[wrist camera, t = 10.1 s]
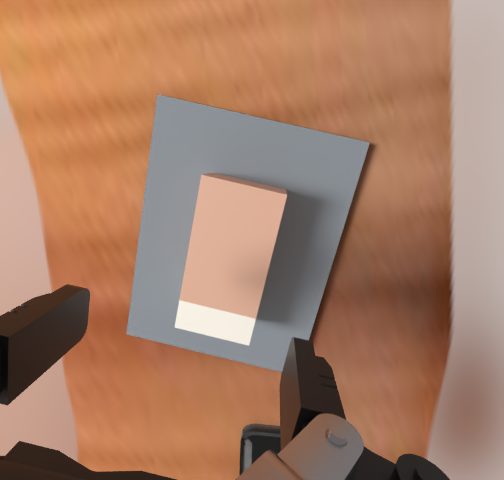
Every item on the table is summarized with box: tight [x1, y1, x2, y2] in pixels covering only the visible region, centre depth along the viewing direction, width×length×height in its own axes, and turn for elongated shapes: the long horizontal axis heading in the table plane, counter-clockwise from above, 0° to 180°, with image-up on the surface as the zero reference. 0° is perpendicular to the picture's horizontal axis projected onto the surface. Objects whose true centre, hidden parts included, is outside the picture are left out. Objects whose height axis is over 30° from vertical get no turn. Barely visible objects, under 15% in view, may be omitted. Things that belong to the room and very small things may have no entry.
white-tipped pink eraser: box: [175, 173, 287, 346], centre depth 20 cm, size 10×5×4 cm, turn 167°
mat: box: [127, 94, 370, 372], centre depth 22 cm, size 18×14×1 cm
